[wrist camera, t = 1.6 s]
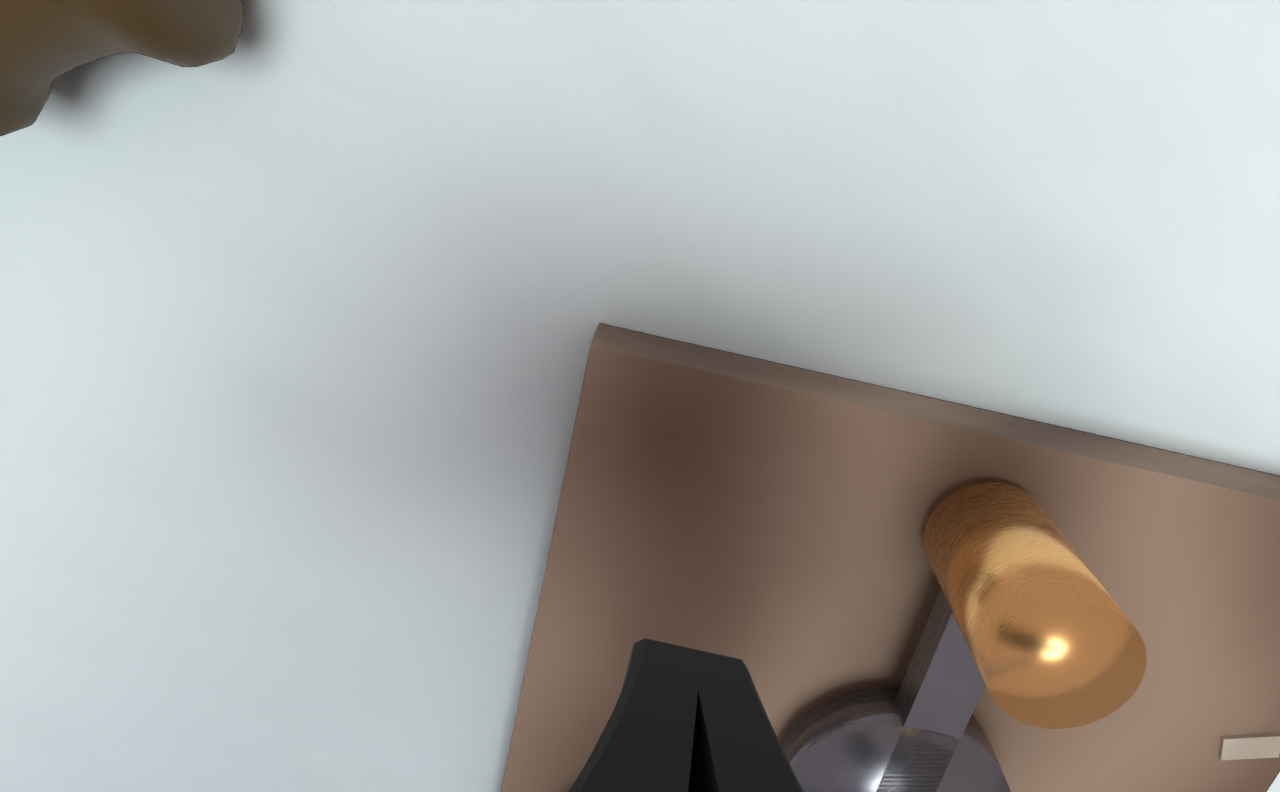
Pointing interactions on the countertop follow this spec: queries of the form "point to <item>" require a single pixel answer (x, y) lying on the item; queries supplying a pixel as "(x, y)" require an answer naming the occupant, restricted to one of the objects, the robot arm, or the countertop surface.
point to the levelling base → (885, 563)
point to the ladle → (979, 657)
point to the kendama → (101, 41)
